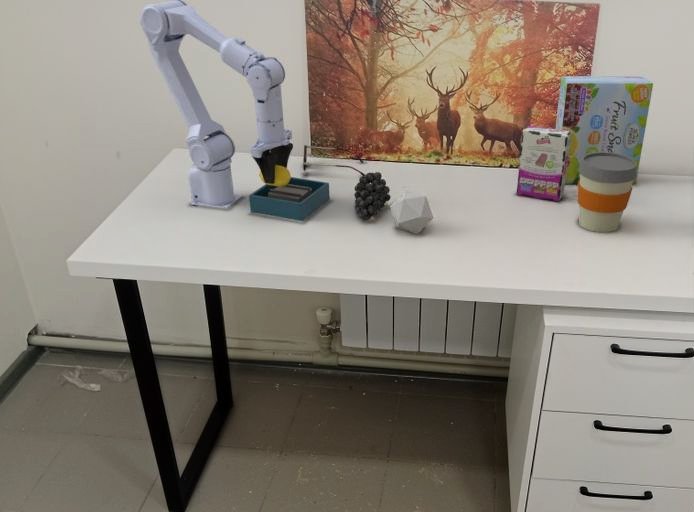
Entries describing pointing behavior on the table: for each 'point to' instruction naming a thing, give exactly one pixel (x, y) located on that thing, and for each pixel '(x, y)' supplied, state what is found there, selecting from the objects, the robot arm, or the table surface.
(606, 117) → the snack box
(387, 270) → the table surface
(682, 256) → the table surface
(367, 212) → the fruit
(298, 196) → the grey block
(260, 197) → the crate
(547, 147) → the candy bar box
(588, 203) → the reusable coffee cup
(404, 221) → the die
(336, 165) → the sunglasses
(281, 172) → the lemon
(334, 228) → the table surface
